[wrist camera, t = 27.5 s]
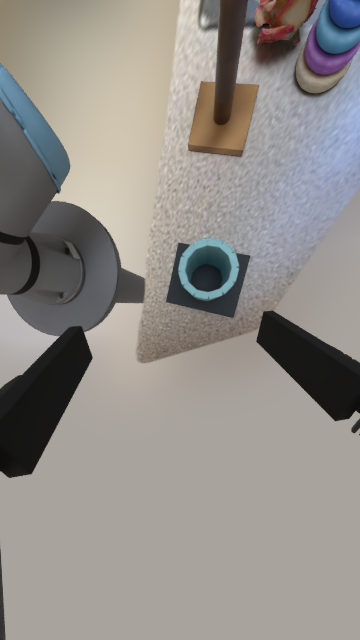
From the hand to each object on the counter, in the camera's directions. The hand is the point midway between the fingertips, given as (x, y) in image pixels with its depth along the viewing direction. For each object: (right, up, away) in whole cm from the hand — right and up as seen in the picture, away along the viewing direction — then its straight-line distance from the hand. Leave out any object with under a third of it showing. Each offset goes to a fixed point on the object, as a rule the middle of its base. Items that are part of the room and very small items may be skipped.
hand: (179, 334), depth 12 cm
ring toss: (+8, +37, +17) cm, 42 cm away
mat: (+5, +9, +20) cm, 23 cm away
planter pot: (+5, +9, +19) cm, 22 cm away
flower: (+16, +48, +15) cm, 53 cm away
